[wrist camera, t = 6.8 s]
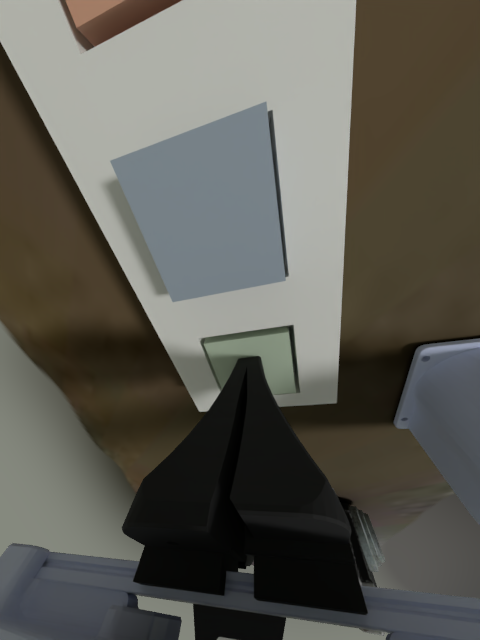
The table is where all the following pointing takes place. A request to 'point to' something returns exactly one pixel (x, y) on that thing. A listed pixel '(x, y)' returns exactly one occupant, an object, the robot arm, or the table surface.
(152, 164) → the slate key
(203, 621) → the device stand
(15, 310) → the table surface
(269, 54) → the keypad
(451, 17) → the table surface
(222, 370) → the sage key
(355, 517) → the camera
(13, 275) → the table surface
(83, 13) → the terracotta key
